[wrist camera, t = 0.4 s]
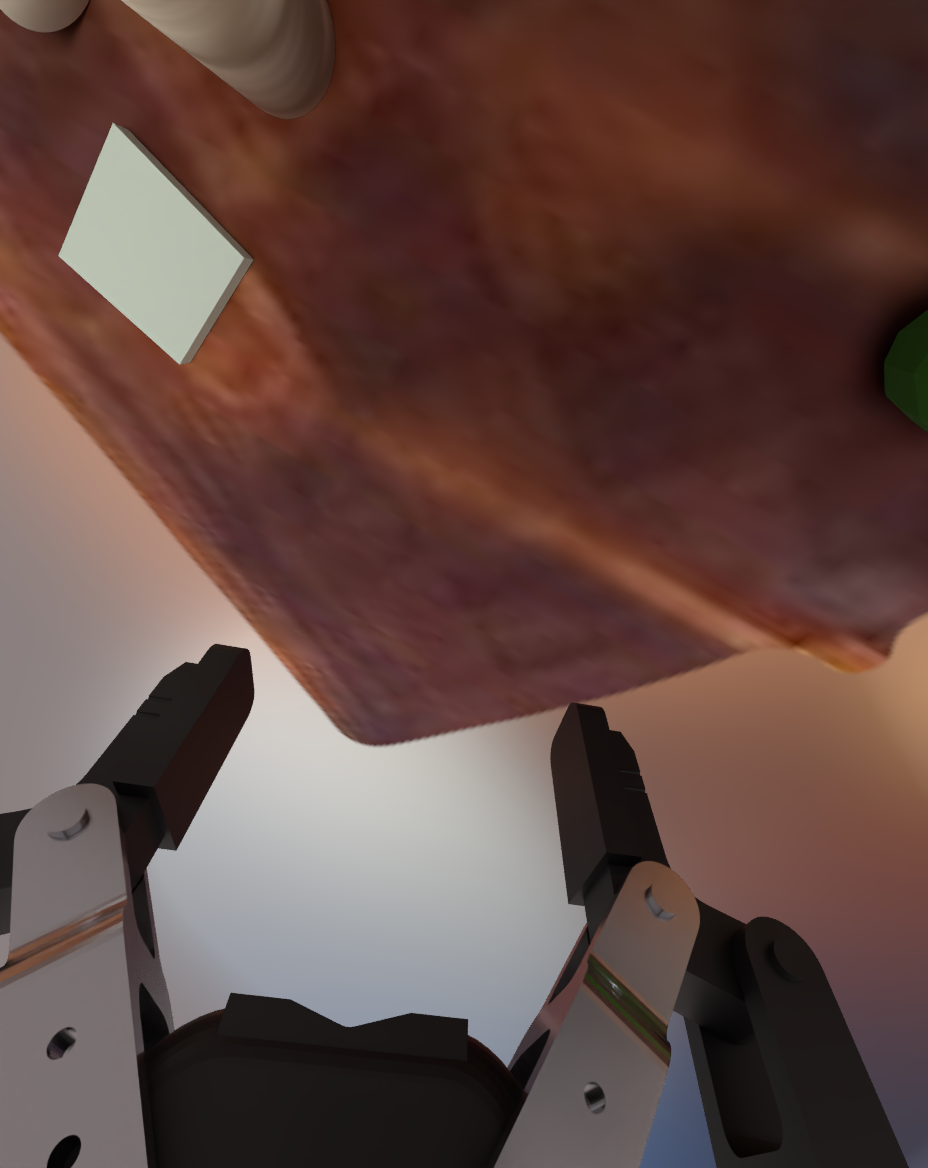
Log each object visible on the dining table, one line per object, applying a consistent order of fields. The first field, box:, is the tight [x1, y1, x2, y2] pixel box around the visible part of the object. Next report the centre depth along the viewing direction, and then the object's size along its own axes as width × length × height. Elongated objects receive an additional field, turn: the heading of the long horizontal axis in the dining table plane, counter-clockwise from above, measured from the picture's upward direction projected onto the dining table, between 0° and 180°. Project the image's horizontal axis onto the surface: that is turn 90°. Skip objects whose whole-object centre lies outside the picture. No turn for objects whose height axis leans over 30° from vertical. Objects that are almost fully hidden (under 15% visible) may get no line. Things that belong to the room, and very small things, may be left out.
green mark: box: [59, 123, 253, 364], centre depth 24 cm, size 7×7×1 cm
